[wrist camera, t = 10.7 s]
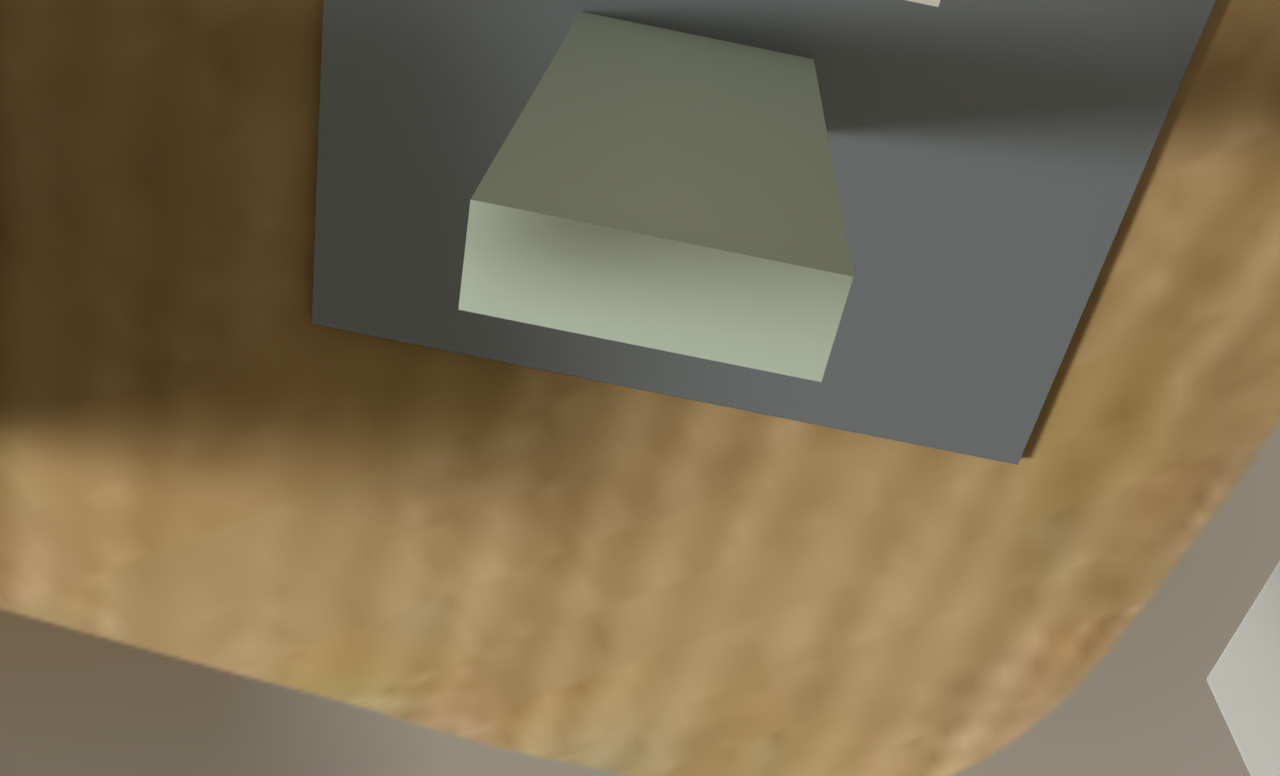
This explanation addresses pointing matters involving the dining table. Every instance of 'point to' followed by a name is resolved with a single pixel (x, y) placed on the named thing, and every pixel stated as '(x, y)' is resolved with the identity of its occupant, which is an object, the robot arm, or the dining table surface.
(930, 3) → the domino
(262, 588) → the dining table surface
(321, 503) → the dining table surface
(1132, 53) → the domino mat
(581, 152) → the domino
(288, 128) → the dining table surface
